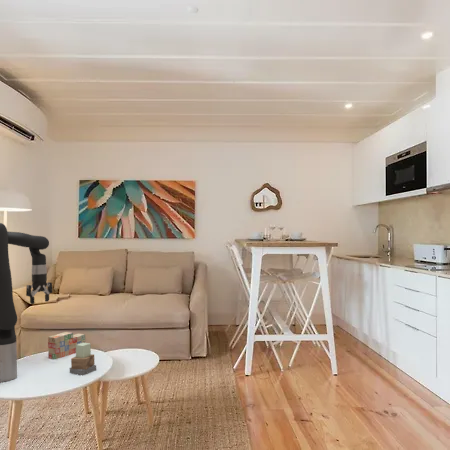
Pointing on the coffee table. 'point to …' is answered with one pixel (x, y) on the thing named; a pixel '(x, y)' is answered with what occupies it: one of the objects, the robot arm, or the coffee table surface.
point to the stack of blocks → (63, 344)
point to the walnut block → (82, 362)
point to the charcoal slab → (83, 370)
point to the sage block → (83, 350)
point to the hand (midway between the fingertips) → (39, 302)
